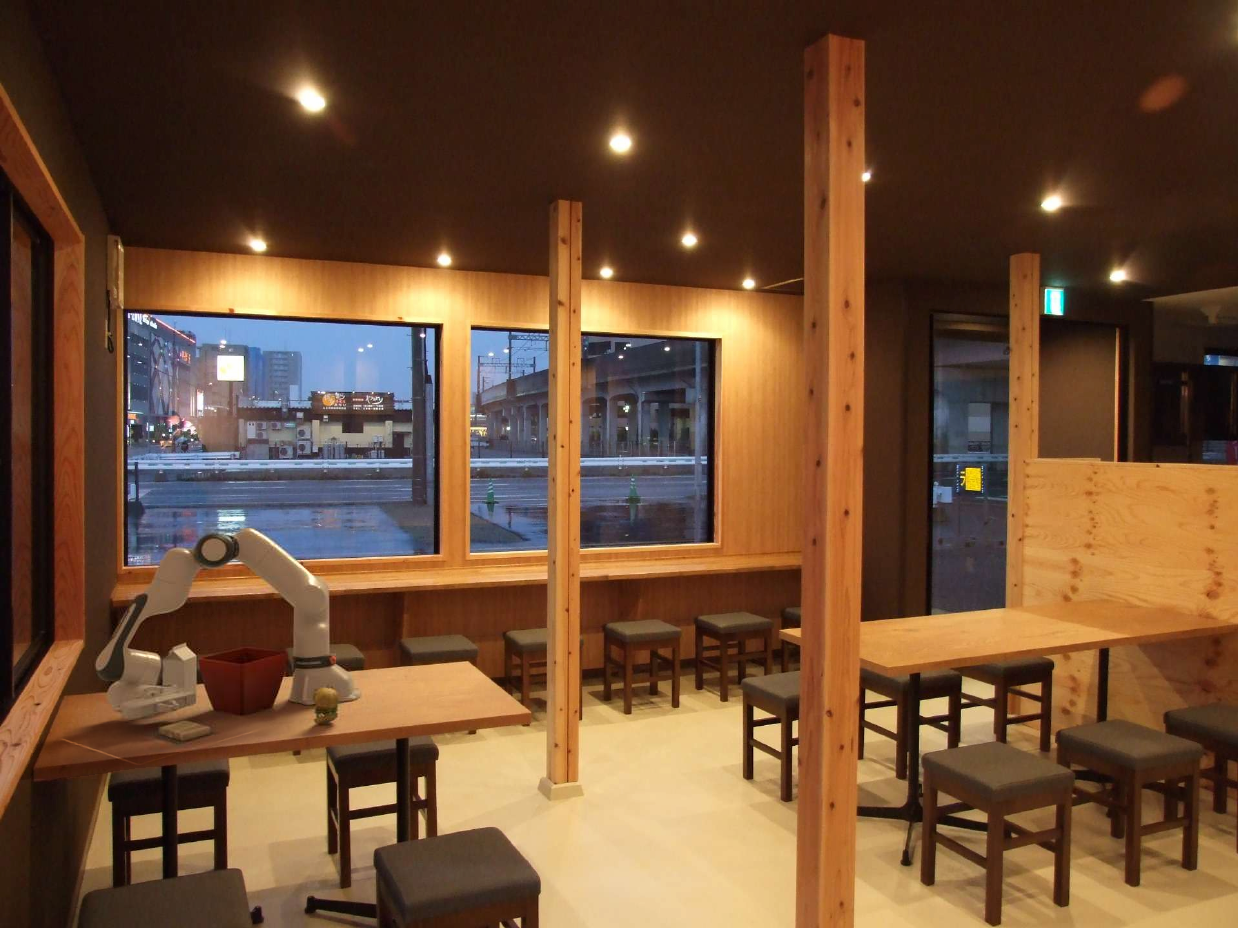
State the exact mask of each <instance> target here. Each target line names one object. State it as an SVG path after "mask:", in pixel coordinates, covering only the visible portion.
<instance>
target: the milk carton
mask: <svg viewBox="0 0 1238 928" xmlns="http://www.w3.org/2000/svg"><path fill="white" fill-rule="evenodd" d="M162 662H163V667H164V670H163V675H162V686H163V685H177V688H185V689H188V690H192V691H194V692H195V694H196V702H195V703H197V701H198V700H197V694H198V693H197V689H198V688H197V655H196V653H194V652H193V651H192V650H191V649H190V648H189V647H188V646H187V643H186V642H184V643H182V644H178V645H176V646H173V647H172V649H171V650H170V651H168V654H167V656H166V657H164V658H163V659H162ZM186 707H188V706H185V707H181V708H186ZM181 708H180V709H181Z"/></svg>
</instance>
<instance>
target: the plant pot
mask: <svg viewBox="0 0 1238 928" xmlns="http://www.w3.org/2000/svg"><path fill="white" fill-rule="evenodd" d="M288 657H289V652H288V651H281V650H274V649H273V650H272V649H264V648H256V647H249V646H245V647H239V648H236V649H232V650H227V651H222V652H219V653H215V654H210V655H209V654H208V655H205V656H201V657H198V665H199V669H200V670H199V671H200V676H201V678H202V681H203V686H204V689H205V692H206V695H207V698H208V700H209V702H210V705H211V708H212V709H213V711H214V712H220V713H224V714H225V713H226V714H230V715H231V714H232V715H237V716H247V715H250V714H253V713H255V712H258V711H262V710H264V708H265V709H267V708H271V707H273V706H274V705H275V702H276V701H277V700H276V699H277V697H278V694H279V692H280V689H281V686H282V682H283V679H284V675H285V672H286V668H287V662H288Z"/></svg>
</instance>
